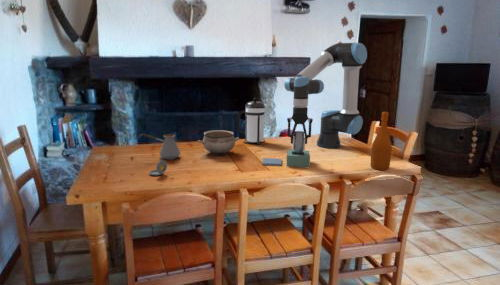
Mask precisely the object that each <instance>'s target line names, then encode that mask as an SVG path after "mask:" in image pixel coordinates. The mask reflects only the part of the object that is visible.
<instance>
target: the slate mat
mask: <svg viewBox="0 0 500 285" xmlns="http://www.w3.org/2000/svg"><path fill="white" fill-rule="evenodd" d="M261 164H262V166H273V165H274V166H277V167H278V166H279V167H281V166H282V158H271V157H263V158H262V162H261Z"/></svg>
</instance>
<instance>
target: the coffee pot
mask: <svg viewBox="0 0 500 285" xmlns="http://www.w3.org/2000/svg"><path fill="white" fill-rule="evenodd" d="M142 136H144V137H147V138H148V139H153V140H157V141H159V142H163V143H162V146H161V148H160V151H159V155H160V156H161V157H163V158H162V159H163V160H169V161H170V160H175V159H177V158H178V157H179V156H180V155H181V151H180V149H179V147H178V145H177V143H176V140H175V137H176V135H175V134H171V133H169V134H167V133H166V134H163V135H162V136H163V138H164V139H160V138H157V137H155V136H152V135H150V134H149V135H148V134H146V133H142V132H141V134H140V135H139V137H140V138H141V137H142ZM162 155H163V156H162ZM160 156H159V157H160ZM161 157H160V158H161Z"/></svg>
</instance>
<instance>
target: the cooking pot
mask: <svg viewBox="0 0 500 285" xmlns="http://www.w3.org/2000/svg"><path fill="white" fill-rule="evenodd" d="M203 135H204V136H203V138H202V140H200V139H198V140H197V142H198V143H200V144H202V146H203V148H204V150H206V151H207V152H209V153H211V154H213V155H215V156H223V155H225V154H227V153H229V152H230V151H231V150H232V149H233V148H234V147H235V144H236V142H238V141H239V140H240V138H239V137H238V136H237V137H235V136H234V131H229V130H224V129H223V130H222V129H221V130H218V129H216V130H208V131H204V132H203Z"/></svg>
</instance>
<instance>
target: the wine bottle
mask: <svg viewBox="0 0 500 285" xmlns="http://www.w3.org/2000/svg"><path fill="white" fill-rule="evenodd" d="M389 115H390V114H389V112H388V111H382V112H381V119H380V120H381V124H380V127H379V130H378V133H377V134H376V136H375V138H374V140H373V142H372V145H371V151H370V152H371V153H370V168H372V169H375V170H377V171H386V170H389V169H390V166H391V159H392V158H391V157H392V150H393V149H392V142H391V135H390V134H391V133H390V131H388V121H389Z"/></svg>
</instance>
